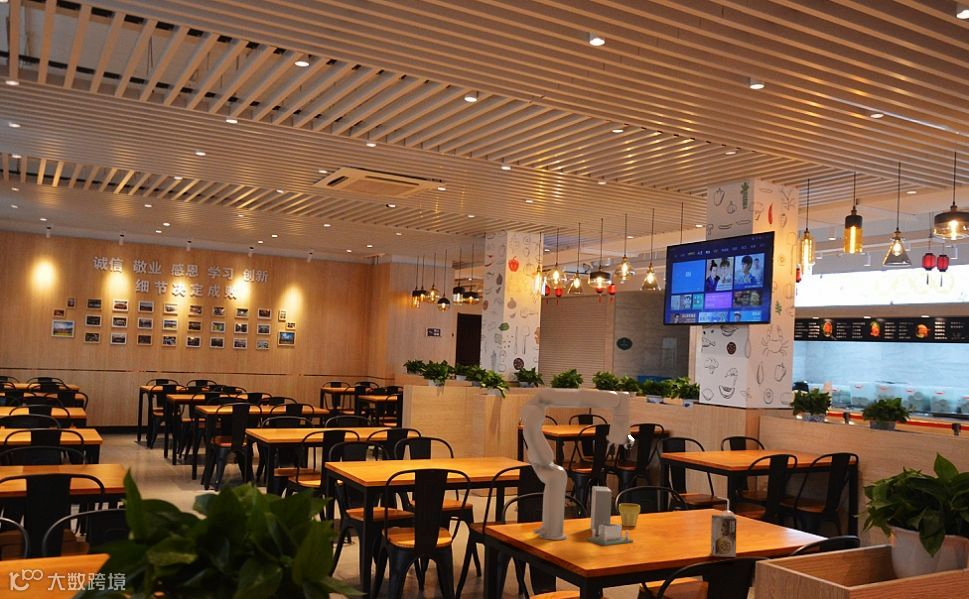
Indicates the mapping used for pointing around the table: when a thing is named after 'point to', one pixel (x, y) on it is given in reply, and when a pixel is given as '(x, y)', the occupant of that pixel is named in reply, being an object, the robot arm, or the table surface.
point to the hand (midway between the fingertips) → (619, 456)
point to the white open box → (610, 531)
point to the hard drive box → (600, 507)
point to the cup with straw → (727, 512)
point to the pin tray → (610, 542)
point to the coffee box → (723, 536)
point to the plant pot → (629, 513)
